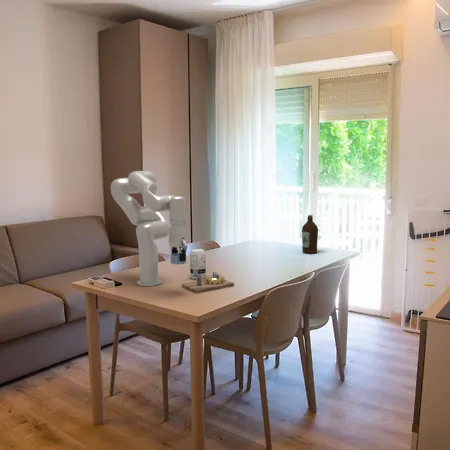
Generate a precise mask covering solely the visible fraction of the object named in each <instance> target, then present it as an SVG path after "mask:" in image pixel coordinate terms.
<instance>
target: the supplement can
mask: <svg viewBox="0 0 450 450" xmlns="http://www.w3.org/2000/svg"><path fill="white" fill-rule="evenodd" d="M206 253H207V252H205V249H204V248H203V249H202V248H194V249H191V250H190V253H189V268H190V269H189V270H190V272H189V273H190V274H189V275H190V276H189V277H190V278H191V279H192V280H197V275H201V280H205V278H206V276H207V269H206V268H207V267H206V266H207V265H206V260H207V259H206Z"/></svg>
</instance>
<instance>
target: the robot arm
mask: <svg viewBox="0 0 450 450" xmlns="http://www.w3.org/2000/svg"><path fill="white" fill-rule="evenodd" d="M157 190H158V185H157V176H156V175H155V173H154V172H152V170H151V171H150V170H135V171H131V172H130V174H128V177H121V178H116V179H114V180H113V181H112V182H111V183H110V193H111V196H112V199H113V200H114V201H115V203H116V204H117V205H118V206H119V207H120V208H121V209H122V211H123V212H124V214H125V215H126V217H127V219H129V221H130V223H131V224H132V225H134V226H136V228H135V233H136V235H135V236H136V239H137V244H138V263H139V264H138V265H139V267H138V268H139V279H138V280H137V282H136V284H137V285H138V286H142V287H154V286H159V285H161V284H162V283H163V282H162V279H161V278H160V277H159V275H160V274H159V272H160V271H159V251H158V246H157V244H156V243H155V240H162V239H166V238H167V237H168V245H169V246H170V250H171V251H170V252H171V254H173V253H179V261H180V262H182V261H186V262H187V250H188V242H187V241H188V240H187V239H188V237H187V228H186V226H187V220H186V219H187V217H186V198H185V196H181V195H180V196H179V195H177V196H176V195H173V194H168V195H167V194H165V195H156V192H157ZM130 194H141V196H142V198H141V199H142V201H143V204H144V205H145V206H144V205H143V206H142V205H140V203H139V202H138V200H136V199H135V198H134V197H133V196H132V195H130ZM161 212H169V224H168V222H167V220H166V219H165V218H164V217H163V215H162V213H161Z"/></svg>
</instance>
